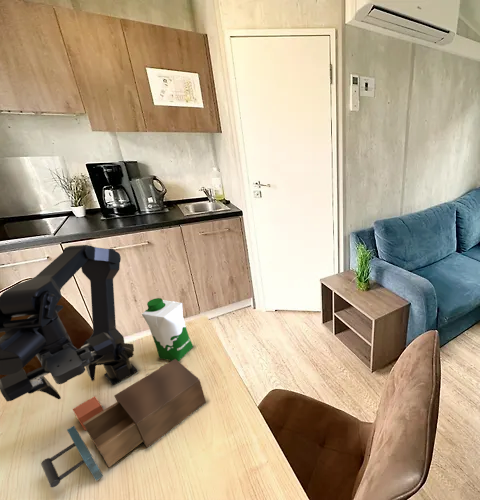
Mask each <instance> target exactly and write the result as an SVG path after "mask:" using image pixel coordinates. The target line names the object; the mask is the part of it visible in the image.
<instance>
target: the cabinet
mask: <svg viewBox="0 0 480 500" xmlns="http://www.w3.org/2000/svg"><path fill="white" fill-rule="evenodd" d="M113 397H114V399H115V401H116V402H119V403H120V405H121V406H122V407H123V408H124V410H125V411H126V412H127V414H128V415H129V416H130V417H131V419H132V420H133V421H134V423H135V424H136V426H137V428H138V430H139V432H140V434H141V437H142V439H143V442H142V443H143V445H144V446H145V447H146V448H149V447H150V446H152V445H153V444H154V443H156V442H157V441H158V440H159V439H161V438H162V437H164V436H165V435H166V434H168V433H169V432H170V431H171V430H173V429H174V428H175V427H176V426H178V424H180V423H182V422H183V421H184V420H185V419H187V418H188V417H189V416H190V415H192V414H193V413H194V412H196V411H197V410H199V408H201V407H202V406H204V405H205V404H206V403H207V400H206V397H205V394H204V389H203V386H202V383H201V379H200V378H199V377H197V376H196V375H195V374H193V373H192V371H190V370H189V369H188V368H187V367H185V366H184V365H183V364H182V363H181V362H180V361H179V362H178V361H177V360H176V359H174V360H172V361H169V362H167V363H166V364H164V365H162V366H161V367H158V369H156V370H154V371H152V372H151V373H149V374H147V375H146V376H145V377H143V378H141V379H140V380H138V381H136V382H134V383H133V384H131V385H130V386H127V387H126V388H124V389H123V390H121V391H120V392H117V393H116V394H114V396H113Z"/></svg>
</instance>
